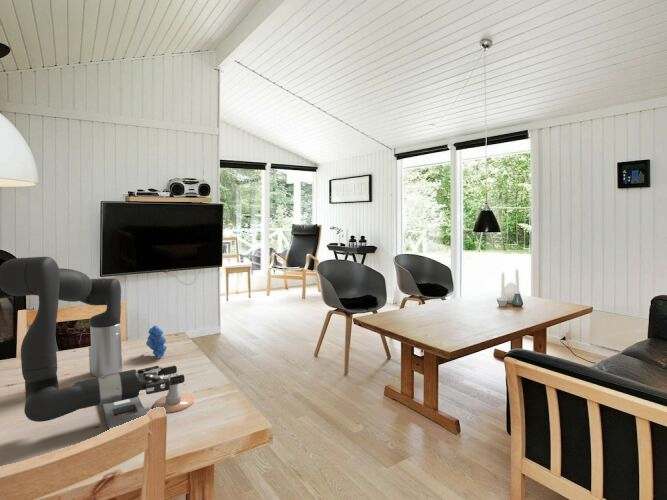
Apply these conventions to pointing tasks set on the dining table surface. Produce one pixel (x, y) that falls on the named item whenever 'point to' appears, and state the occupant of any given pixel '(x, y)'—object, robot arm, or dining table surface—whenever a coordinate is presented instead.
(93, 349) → the robot arm
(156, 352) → the grapes
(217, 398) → the dining table surface
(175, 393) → the rook chess piece
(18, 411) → the dining table surface
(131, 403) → the power strip
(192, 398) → the peach dome
